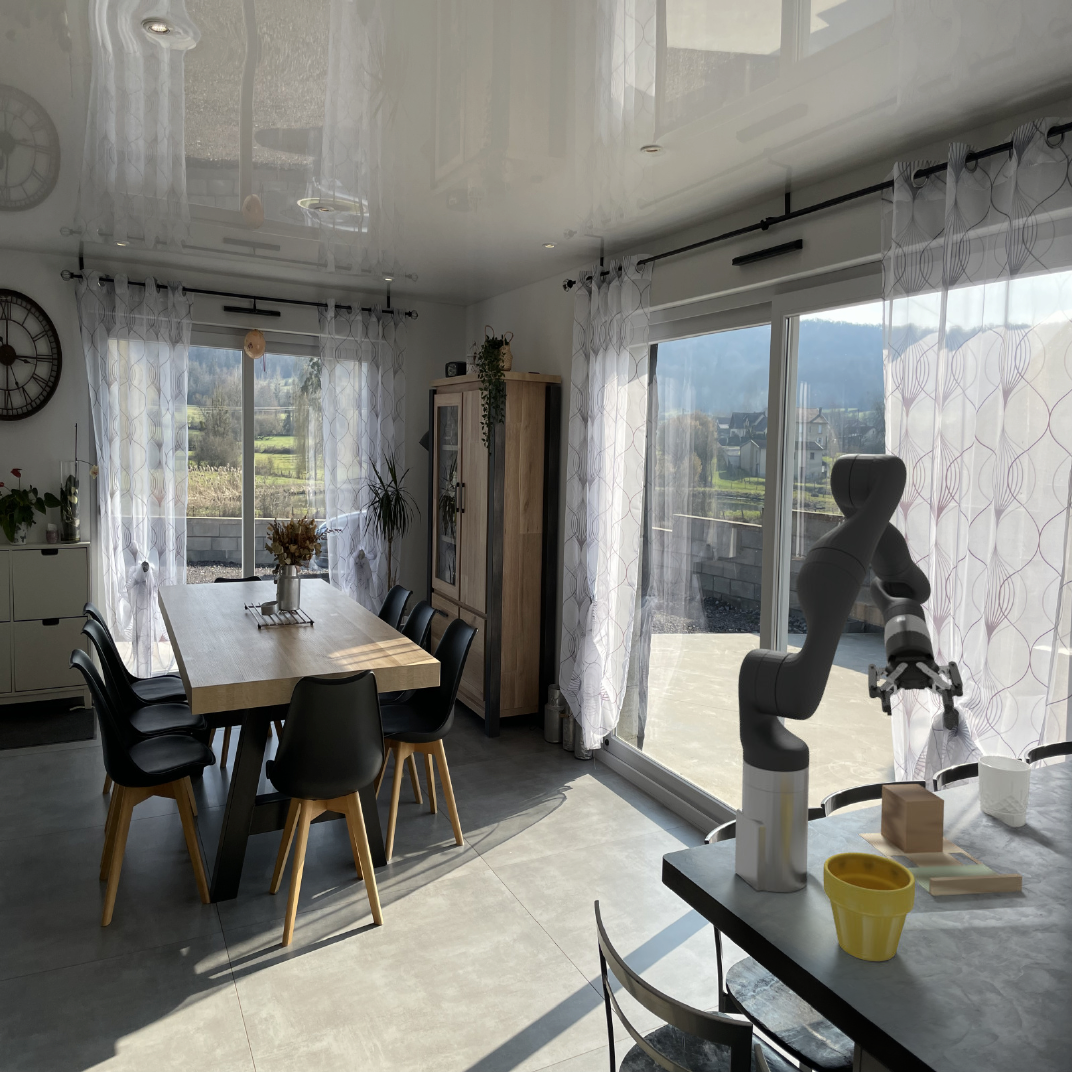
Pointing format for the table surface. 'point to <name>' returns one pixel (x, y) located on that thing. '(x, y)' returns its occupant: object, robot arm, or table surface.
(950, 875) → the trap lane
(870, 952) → the plant pot
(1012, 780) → the white cup
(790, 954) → the table surface
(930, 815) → the walnut block
